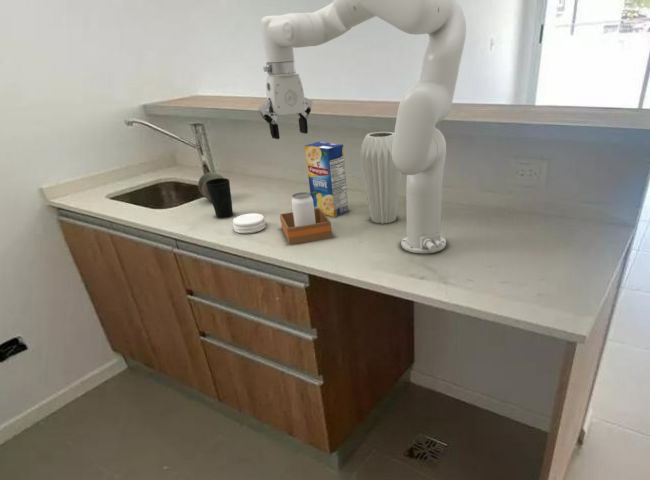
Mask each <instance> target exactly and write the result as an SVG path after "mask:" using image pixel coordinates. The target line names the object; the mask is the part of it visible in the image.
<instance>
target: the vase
mask: <svg viewBox="0 0 650 480" xmlns="http://www.w3.org/2000/svg"><path fill="white" fill-rule="evenodd" d="M364 136H365V137H364V138H363V141H362V143H361V146H360V153H359V159H360V164H361V170H362V177H363V181H364V186H365V193H366V198H367V203H368V209H369V214H370V220H371V221H372V222H373V223H375V224H376V223H377V224H382V225H383V224H390V223H393V222H395V221H396V220H397V217H398V216H397V215H398V206H399V198H400V189H401V181H402V180H401V179H402V173H401V172H400V171H399V170H398V169H397V168H396V166H395V165H394V162H393V159H392V145H393V138H394V132H391V131H377V132H375V131H374V132H370V133H367V134H366V135H364Z"/></svg>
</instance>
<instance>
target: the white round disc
mask: <svg viewBox="0 0 650 480" xmlns="http://www.w3.org/2000/svg"><path fill="white" fill-rule="evenodd" d="M232 224H233V230H234V232H236V233H238V234H245V235H246V234H247V235H248V234H255V233H259V232H261V231H263V230H265V228H266V226H267V225H266V220H265V216H264V215H263V214H260V213H254V212H253V213H243V214H240V215H237V216H235V217H234V218H233V219H232Z"/></svg>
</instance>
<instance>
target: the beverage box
mask: <svg viewBox="0 0 650 480" xmlns="http://www.w3.org/2000/svg"><path fill="white" fill-rule="evenodd" d="M304 148H305V149H304V152H305V161H306V169H307V175H308V184H309V193H310V194H311V197H312V198H313V204H314V209H316V208H320V209H321V210H322V211H323V213H324V214H325V215H326V216H330V217H334V218H335V217H338V216H340V215H342V214H345V213H347V212H349V203H348V202H349V200H348V192H347V191H348V189H347V188H348V187H347V178H346V177H347V176H346V163H345V151H344V144H341V143H335V142H334V143H333V142H326V141H317V142H316V141H315V142H312V143H309V144H305V145H304Z"/></svg>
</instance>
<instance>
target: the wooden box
mask: <svg viewBox="0 0 650 480" xmlns="http://www.w3.org/2000/svg"><path fill="white" fill-rule="evenodd" d="M314 212H315V221H316V224H310V225H304V226H297V227H295V224H294V217H293V211H290V212H284V213H279V221H280V225H281V229H282V232H283V234H284V236H285V238H286V241H287V242H288V244H289V245H295V244H302V243H308V242H314V241H320V240H327V239H331V238H333V233H332V232H333V231H332V222H331V221H330V219H329V218H328V215H326V214H324V213H323V211H322V210H321V209H320V208H316V209H314Z"/></svg>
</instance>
